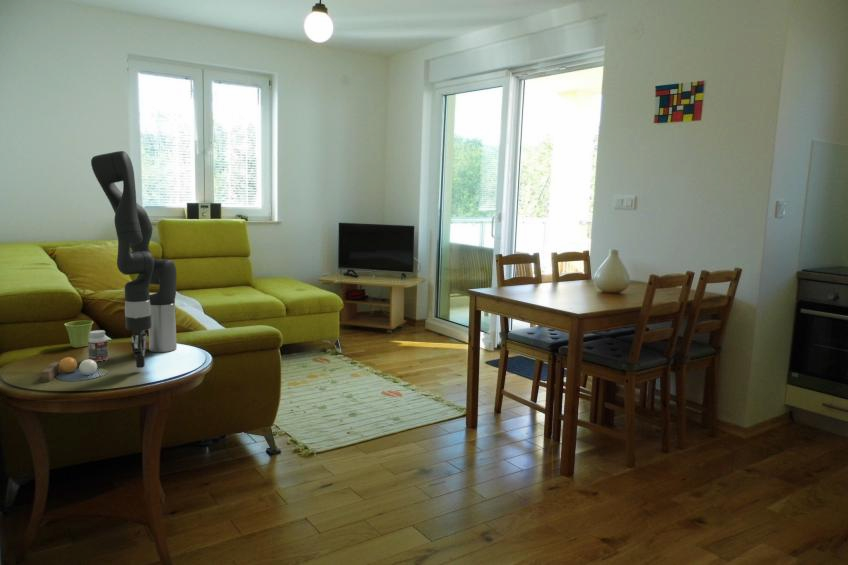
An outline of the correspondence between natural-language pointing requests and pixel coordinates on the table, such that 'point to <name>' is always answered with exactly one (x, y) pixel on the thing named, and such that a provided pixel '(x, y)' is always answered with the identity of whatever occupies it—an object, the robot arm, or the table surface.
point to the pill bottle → (98, 346)
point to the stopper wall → (50, 372)
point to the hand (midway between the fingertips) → (140, 366)
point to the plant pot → (79, 332)
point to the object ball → (68, 365)
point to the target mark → (77, 376)
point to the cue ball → (88, 367)
